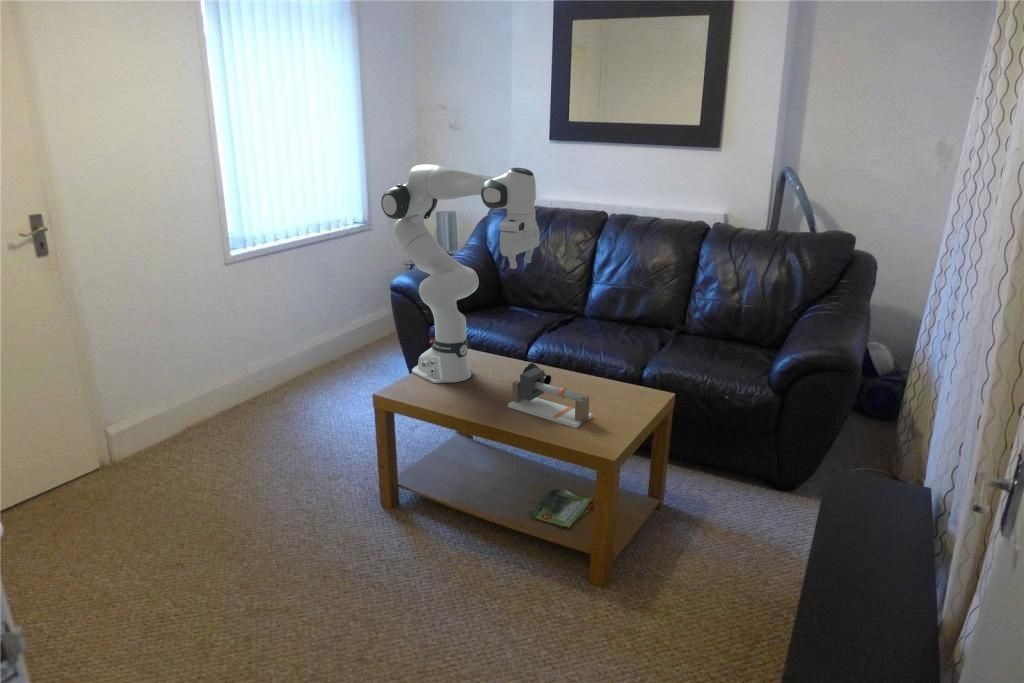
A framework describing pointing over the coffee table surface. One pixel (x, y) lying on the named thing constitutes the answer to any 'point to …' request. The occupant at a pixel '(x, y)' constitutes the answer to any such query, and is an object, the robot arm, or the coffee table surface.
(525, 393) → the collar
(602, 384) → the coffee table surface
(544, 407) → the rail
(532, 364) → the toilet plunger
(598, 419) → the coffee table surface
